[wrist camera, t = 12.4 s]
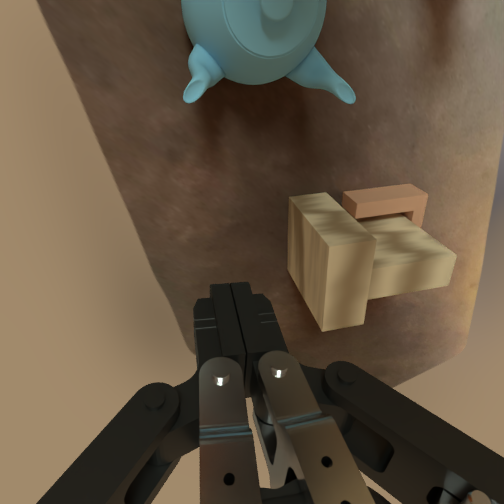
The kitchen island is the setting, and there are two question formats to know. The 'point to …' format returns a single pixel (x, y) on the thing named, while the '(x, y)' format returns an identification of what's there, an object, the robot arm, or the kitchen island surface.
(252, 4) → the teapot
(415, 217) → the frame
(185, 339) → the kitchen island surface
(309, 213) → the t block
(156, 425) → the robot arm
